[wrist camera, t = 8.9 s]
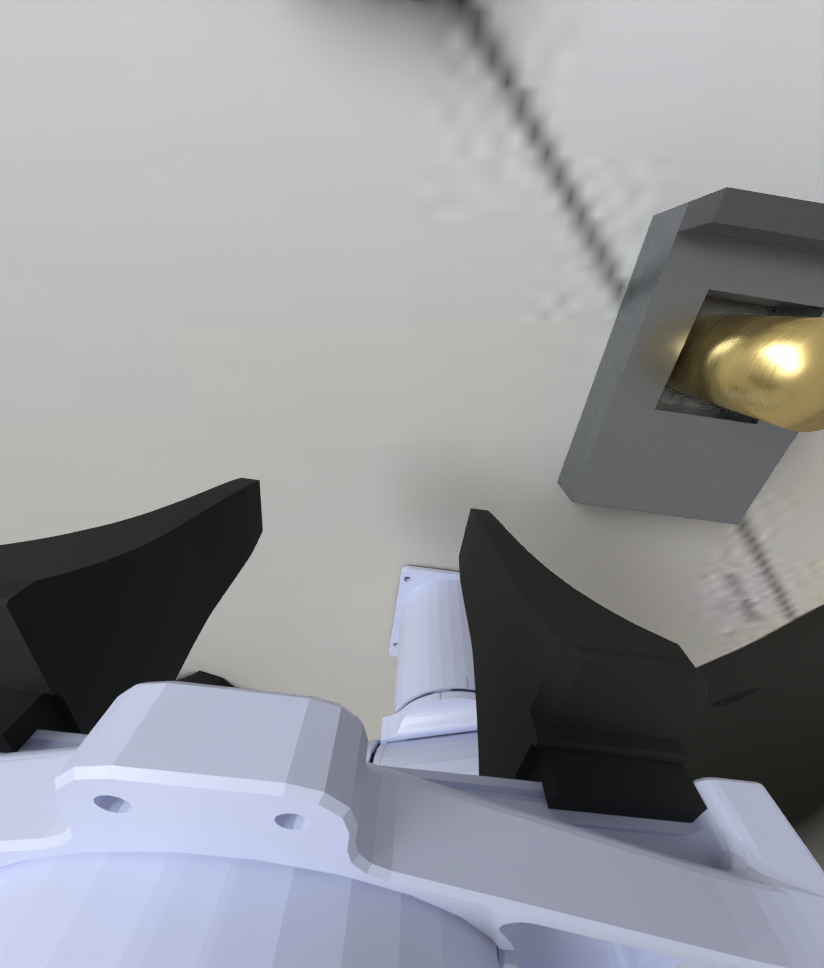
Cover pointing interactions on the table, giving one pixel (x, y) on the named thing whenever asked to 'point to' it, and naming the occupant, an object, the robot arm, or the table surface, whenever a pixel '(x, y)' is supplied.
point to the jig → (658, 342)
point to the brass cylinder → (756, 367)
